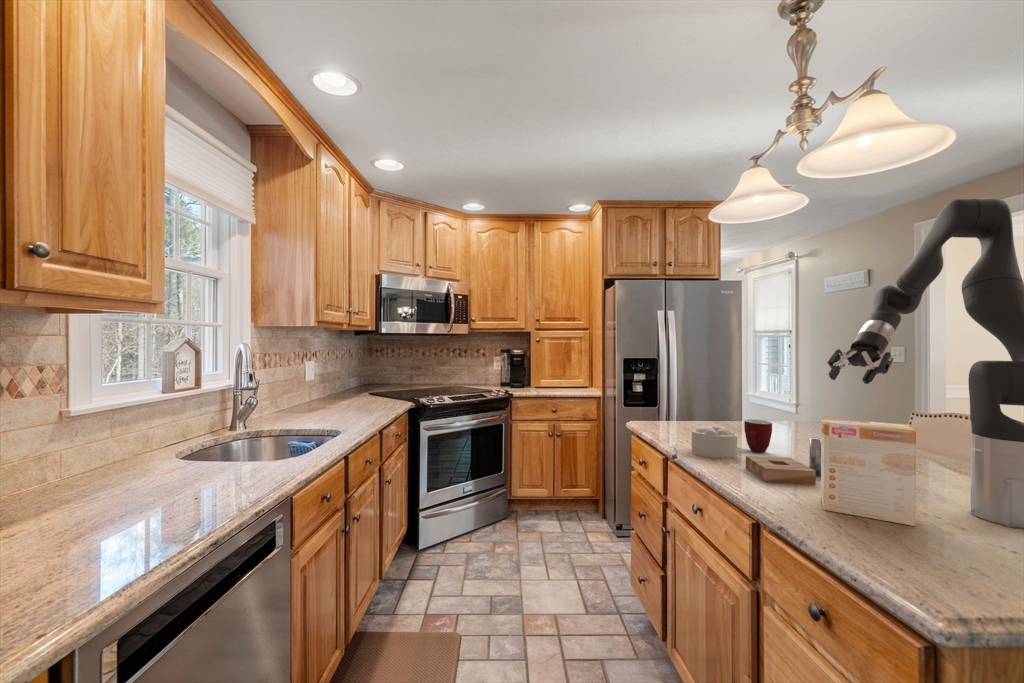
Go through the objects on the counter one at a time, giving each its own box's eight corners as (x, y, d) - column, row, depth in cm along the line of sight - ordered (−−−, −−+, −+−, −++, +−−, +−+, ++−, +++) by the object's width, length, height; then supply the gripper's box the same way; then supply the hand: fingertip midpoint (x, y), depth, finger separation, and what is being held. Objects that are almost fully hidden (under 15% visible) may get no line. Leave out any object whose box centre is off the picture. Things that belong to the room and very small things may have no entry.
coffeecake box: (906, 515, 89) (907, 424, 89) (916, 527, 83) (917, 429, 83) (819, 500, 97) (820, 416, 97) (822, 510, 91) (824, 421, 91)
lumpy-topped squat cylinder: (698, 447, 144) (698, 422, 144) (740, 454, 135) (740, 428, 135) (689, 454, 135) (689, 427, 135) (733, 461, 127) (733, 433, 127)
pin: (825, 476, 112) (825, 439, 112) (813, 476, 112) (813, 439, 113) (818, 473, 115) (819, 437, 115) (807, 472, 115) (807, 436, 116)
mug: (768, 457, 132) (769, 426, 132) (740, 453, 137) (740, 423, 137) (773, 451, 140) (773, 421, 140) (746, 447, 145) (746, 418, 145)
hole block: (815, 486, 106) (815, 470, 106) (765, 483, 107) (765, 468, 107) (790, 471, 117) (790, 457, 117) (745, 469, 119) (745, 455, 119)
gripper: (840, 329, 128) (815, 369, 125) (897, 330, 115) (871, 374, 112) (851, 345, 131) (826, 385, 127) (907, 348, 117) (882, 392, 114)
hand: (847, 380), depth 119 cm, fingers open, 8 cm apart
